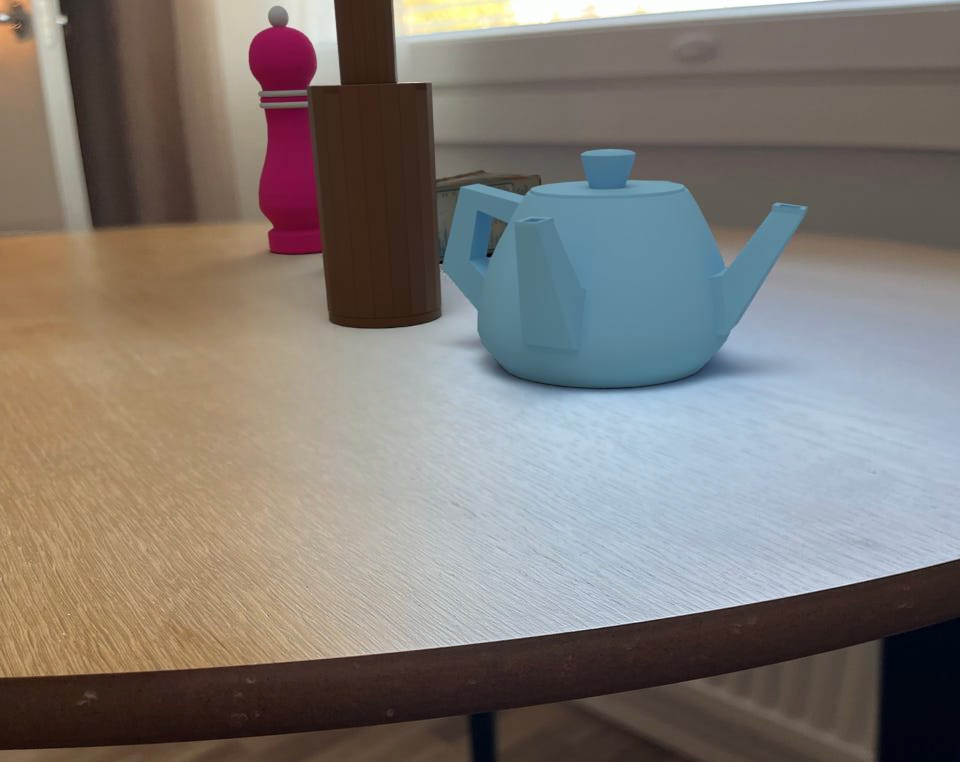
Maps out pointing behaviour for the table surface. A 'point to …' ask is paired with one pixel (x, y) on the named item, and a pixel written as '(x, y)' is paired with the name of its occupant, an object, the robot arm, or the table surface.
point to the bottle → (375, 178)
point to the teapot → (605, 276)
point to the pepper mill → (287, 135)
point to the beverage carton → (451, 185)
